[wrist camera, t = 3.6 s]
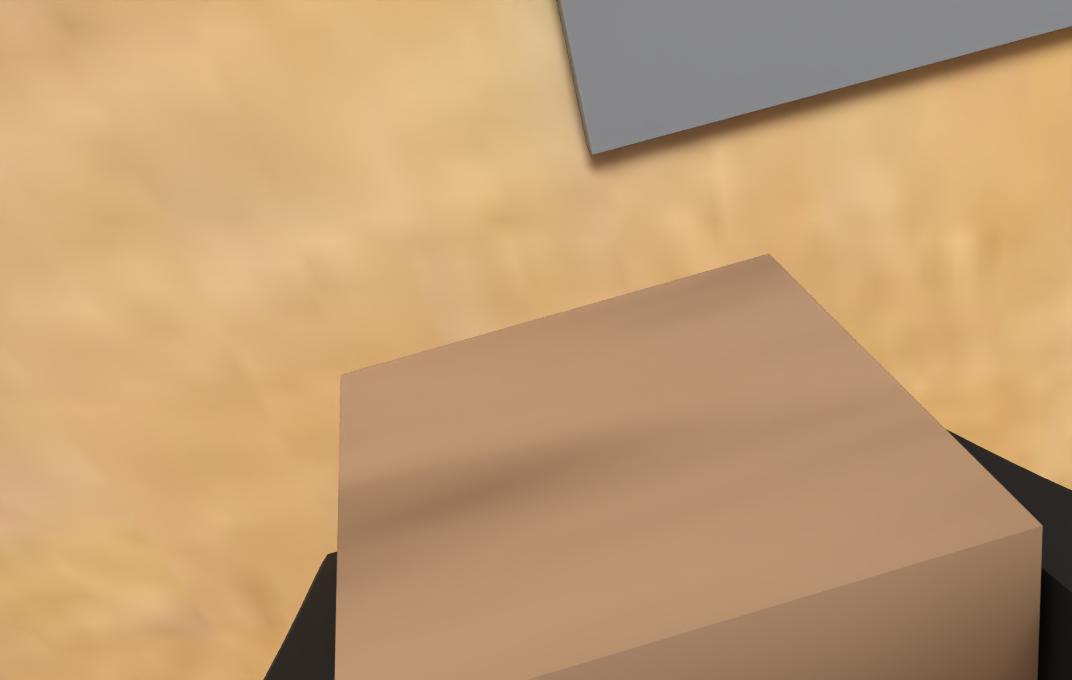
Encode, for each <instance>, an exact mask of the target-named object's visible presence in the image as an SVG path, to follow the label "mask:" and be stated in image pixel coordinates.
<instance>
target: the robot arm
mask: <svg viewBox="0 0 1072 680" xmlns="http://www.w3.org/2000/svg"><path fill="white" fill-rule="evenodd" d="M947 431H948V430H947ZM948 432H949V433H950V434H951V435H952V436H953V437H954V438H955V439H956V440H957V441H958V442H959V443H960V444H961V445H962V446H963V447H964V448H965V449H966V450H967V451H968V452H969V453H970V454H971V455H972V456H973V457H974V458H975V459H976V460H977V461H978V462H979V463H980V464H981V465H982V466H983V467H984V468H985V469H986V470H987V471H988V472H989V473H990V474H991V475H992V476H993V477H994V478H995V479H996V480H997V481H998V482H999V483H1000V484H1001V485H1002V486H1003V487H1004V488H1005V489H1006V490H1007V491H1008V492H1009V493H1010V494H1011V495H1012V496H1013V497H1014V498H1015V499H1016V500H1017V501H1018V502H1019V503H1020V504H1021V505H1022V506H1023V507H1024V508H1025V509H1026V510H1027V511H1028V512H1029V513H1030V514H1031V515H1032V516H1033V517H1034V518H1035V519H1036V520H1037V521H1038V522H1039V523H1040V524H1041V525H1042V526H1043V531H1042V560H1041V589H1040V619H1039V648H1038V677H1037V680H1072V490H1070V489H1067V488H1065V487H1063V486H1061V485H1059V484H1056V483H1054V482H1052V481H1050V480H1048V479H1046V478H1043V477H1041V476H1039V475H1037V474H1035V473H1033V472H1031V471H1029V470H1026V469H1024V468H1022V467H1020V466H1018V465H1016V464H1014V463H1012V462H1010V461H1008V460H1006V459H1004V458H1002V457H1000V456H998V455H996V454H994V453H992V452H990V451H988V450H986V449H984V448H982V447H980V446H978V445H976V444H974V443H972V442H970V441H968V440H966V439H964V438H962V437H960V436H958V435H956V434H954V433H952V432H950V431H948ZM336 591H337V552H334V553H330V554H328V555H327V556H326V558H325V559H324V561H323V563H322V564H321V566H320V568H319V570H318V572H317V574H316V576H315V578H314V581H313V583H312V585H311V587H310V589H309V591H308V593H307V595H306V597H305V599H304V601H303V603H302V606H301V608H300V610H299V612H298V614H297V616H296V618H295V620H294V622H293V624H292V626H291V628H290V630H289V632H288V634H287V636H286V638H285V640H284V642H283V644H282V646H281V648H280V650H279V652H278V653H277V655H276V657H275V659H274V661H273V663H272V665H271V667H270V668H269V670H268V672H267V674H266V676H265V678H264V680H335V642H336Z"/></svg>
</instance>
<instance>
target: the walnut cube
mask: <svg viewBox="0 0 1072 680" xmlns="http://www.w3.org/2000/svg"><path fill="white" fill-rule="evenodd" d="M1042 531H1043V526H1042V525H1041V524H1040V523H1039V522H1038V521H1037V520H1036V519H1035V518H1034V517H1033V516H1032V515H1031V514H1030V513H1029V512H1028V511H1027V510H1026V509H1025V508H1024V507H1023V506H1022V505H1021V504H1020V503H1019V502H1018V501H1017V500H1016V499H1015V498H1014V497H1013V496H1012V495H1011V494H1010V493H1009V492H1008V491H1007V490H1006V489H1005V488H1004V487H1003V486H1002V485H1001V484H1000V483H999V482H998V481H997V480H996V479H995V478H994V477H993V476H992V475H991V474H990V473H989V472H988V471H987V470H986V469H985V468H984V467H983V466H982V465H981V464H980V463H979V462H978V461H977V460H976V459H975V458H974V457H973V456H972V455H971V454H970V453H969V452H968V451H967V450H966V449H965V448H964V447H963V446H962V445H961V444H960V443H959V442H958V441H957V440H956V439H955V438H954V437H953V436H952V435H951V434H950V433H949V432H948V431H947V430H946V429H945V428H944V427H943V426H942V425H941V424H940V423H939V422H938V421H937V420H936V419H935V418H934V417H933V416H932V415H931V414H930V413H929V412H928V411H927V410H926V409H925V408H924V407H923V406H922V405H921V404H920V403H919V402H918V401H917V400H916V399H915V398H914V397H913V396H912V395H911V394H910V393H909V392H908V391H907V390H906V389H905V388H904V387H903V386H902V385H901V384H900V383H899V382H898V381H897V380H896V379H895V378H894V377H893V376H892V375H891V374H890V373H889V372H887V371H886V370H885V369H884V368H883V367H882V366H881V365H880V364H879V363H878V362H877V361H876V360H875V359H874V358H873V357H872V356H871V355H870V354H869V353H868V352H867V351H866V350H865V349H864V348H863V347H862V346H861V345H860V344H859V343H858V342H857V341H856V340H855V339H854V338H853V337H852V336H851V335H850V334H849V333H848V332H847V331H846V330H845V329H844V328H843V327H842V326H841V325H840V324H839V323H838V322H837V321H836V320H835V319H834V318H833V317H832V316H831V315H830V314H829V313H828V312H827V311H826V310H825V309H824V308H823V307H822V306H821V305H820V304H819V303H818V302H817V301H816V300H815V299H814V298H813V297H812V296H811V295H810V294H809V293H808V292H807V291H806V290H805V289H804V288H803V287H802V286H801V285H800V284H799V283H798V282H797V281H796V280H795V279H794V278H793V277H792V276H791V275H790V274H789V273H788V272H787V271H786V270H785V269H784V268H783V267H782V266H781V265H780V264H779V263H778V262H777V261H776V260H775V259H774V258H773V257H772V256H771V255H770V254H766V255H763V256H759V257H756V258H752V259H749V260H745V261H742V262H738V263H734V264H731V265H727V266H724V267H720V268H717V269H713V270H710V271H706V272H703V273H699V274H696V275H692V276H689V277H685V278H681V279H678V280H674V281H671V282H667V283H664V284H660V285H657V286H653V287H650V288H646V289H643V290H639V291H635V292H632V293H628V294H625V295H621V296H618V297H614V298H611V299H607V300H604V301H600V302H597V303H593V304H590V305H586V306H582V307H579V308H575V309H572V310H568V311H565V312H561V313H558V314H554V315H551V316H547V317H544V318H540V319H537V320H533V321H529V322H526V323H522V324H519V325H515V326H512V327H508V328H505V329H501V330H498V331H494V332H491V333H487V334H484V335H480V336H476V337H473V338H469V339H466V340H462V341H459V342H455V343H452V344H448V345H445V346H441V347H438V348H434V349H430V350H427V351H423V352H420V353H416V354H413V355H409V356H406V357H402V358H399V359H395V360H392V361H388V362H385V363H381V364H377V365H374V366H370V367H367V368H363V369H360V370H356V371H353V372H349V373H346V374H342V375H341V387H340V438H339V489H338V540H337V591H336V642H335V680H1037V677H1038V648H1039V619H1040V589H1041V560H1042Z"/></svg>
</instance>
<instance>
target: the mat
mask: <svg viewBox="0 0 1072 680" xmlns="http://www.w3.org/2000/svg"><path fill="white" fill-rule="evenodd" d="M557 3H558V8H559V13H560V17H561V22H562V27H563V32H564V36H565V41H566V46H567V51H568V55H569V60H570V65H571V70H572V75H573V79H574V84H575V89H576V94H577V98H578V103H579V108H580V113H581V118H582V122H583V127H584V132H585V137H586V141H587V146H588V149H589V151H590V152H591V153H592V155H593V154H597V153H601V152H604V151H608V150H612V149H616V148H619V147H623V146H627V145H630V144H634V143H638V142H642V141H645V140H649V139H653V138H656V137H660V136H664V135H668V134H671V133H675V132H679V131H683V130H686V129H690V128H694V127H697V126H701V125H705V124H709V123H712V122H716V121H720V120H724V119H727V118H731V117H735V116H738V115H742V114H746V113H750V112H753V111H757V110H761V109H764V108H768V107H772V106H776V105H779V104H783V103H787V102H791V101H794V100H798V99H802V98H805V97H809V96H813V95H817V94H820V93H824V92H828V91H832V90H835V89H839V88H843V87H846V86H850V85H854V84H858V83H861V82H865V81H869V80H872V79H876V78H880V77H884V76H887V75H891V74H895V73H899V72H902V71H906V70H910V69H913V68H917V67H921V66H925V65H928V64H932V63H936V62H940V61H943V60H947V59H951V58H954V57H958V56H962V55H966V54H969V53H973V52H977V51H980V50H984V49H988V48H992V47H995V46H999V45H1003V44H1007V43H1010V42H1014V41H1018V40H1021V39H1025V38H1029V37H1033V36H1036V35H1040V34H1044V33H1048V32H1051V31H1055V30H1059V29H1062V28H1066V27H1070V26H1072V0H557Z"/></svg>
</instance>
